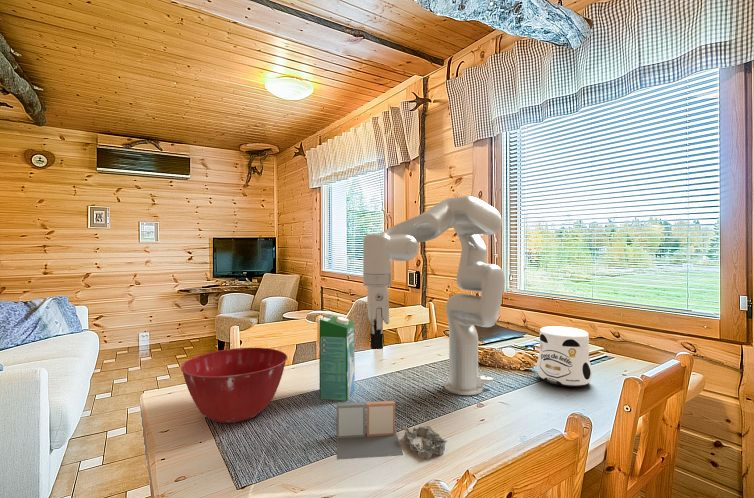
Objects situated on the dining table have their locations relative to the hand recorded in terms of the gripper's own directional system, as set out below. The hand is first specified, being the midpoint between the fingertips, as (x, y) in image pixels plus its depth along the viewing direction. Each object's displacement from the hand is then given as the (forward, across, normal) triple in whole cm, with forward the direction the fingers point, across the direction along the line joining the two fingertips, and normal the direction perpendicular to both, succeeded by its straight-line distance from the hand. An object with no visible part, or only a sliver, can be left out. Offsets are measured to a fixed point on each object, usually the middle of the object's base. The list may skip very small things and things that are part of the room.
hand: (376, 348), depth 103 cm
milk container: (+20, +24, -69) cm, 75 cm away
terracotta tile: (+20, -7, 0) cm, 21 cm away
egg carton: (+21, -13, -10) cm, 27 cm away
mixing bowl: (+21, +12, +39) cm, 46 cm away
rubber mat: (+20, -9, +3) cm, 23 cm away
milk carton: (+21, +22, +10) cm, 32 cm away
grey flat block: (+20, -7, +7) cm, 22 cm away
